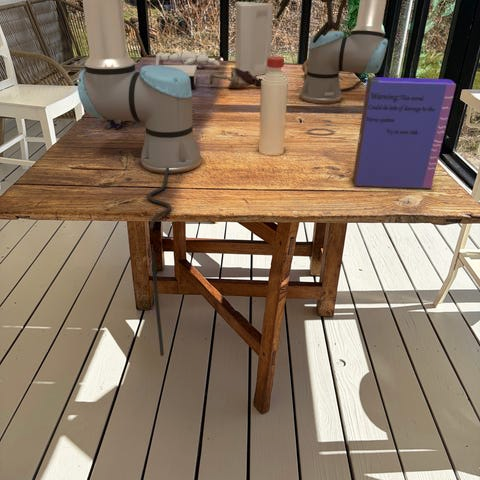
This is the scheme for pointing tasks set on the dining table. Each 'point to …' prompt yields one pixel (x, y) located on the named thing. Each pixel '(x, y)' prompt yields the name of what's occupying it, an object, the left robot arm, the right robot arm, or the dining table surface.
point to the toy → (185, 58)
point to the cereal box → (402, 131)
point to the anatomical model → (305, 67)
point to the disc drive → (188, 72)
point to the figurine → (239, 79)
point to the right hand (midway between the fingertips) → (296, 27)
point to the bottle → (273, 112)
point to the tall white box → (253, 36)
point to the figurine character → (112, 122)
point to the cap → (275, 62)
